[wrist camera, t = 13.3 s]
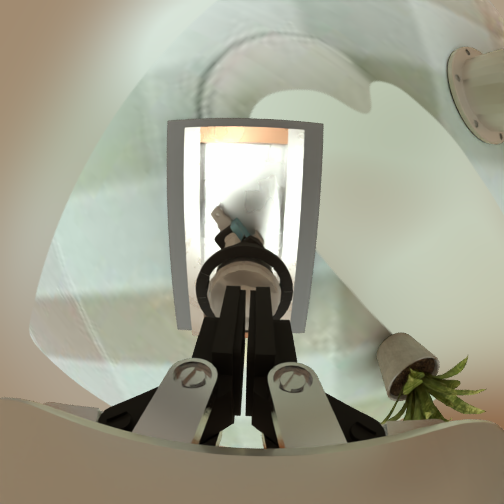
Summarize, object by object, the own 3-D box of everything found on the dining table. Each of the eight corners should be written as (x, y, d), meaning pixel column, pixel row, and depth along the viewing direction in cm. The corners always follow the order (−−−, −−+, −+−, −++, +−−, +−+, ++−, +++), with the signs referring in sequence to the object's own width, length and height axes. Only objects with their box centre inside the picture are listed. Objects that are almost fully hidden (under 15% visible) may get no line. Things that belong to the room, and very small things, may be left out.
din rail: (299, 132, 21) (304, 129, 19) (285, 325, 26) (288, 338, 24) (190, 130, 20) (184, 127, 18) (196, 322, 26) (192, 335, 24)
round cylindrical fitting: (192, 226, 23) (154, 272, 13) (242, 187, 22) (237, 207, 12) (240, 284, 24) (235, 357, 15) (289, 249, 23) (314, 309, 14)
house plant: (310, 361, 30) (341, 483, 14) (397, 276, 26) (492, 372, 11) (374, 397, 33) (410, 485, 17) (444, 332, 29) (508, 409, 14)
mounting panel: (319, 125, 21) (323, 123, 20) (302, 326, 28) (304, 332, 27) (171, 122, 21) (167, 120, 20) (180, 322, 28) (177, 329, 27)
